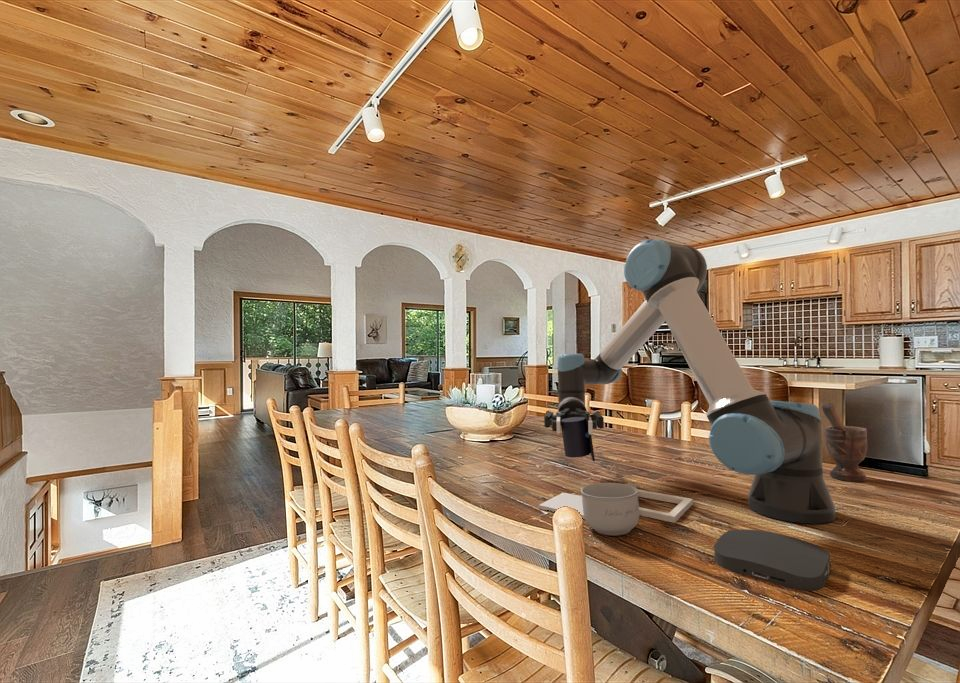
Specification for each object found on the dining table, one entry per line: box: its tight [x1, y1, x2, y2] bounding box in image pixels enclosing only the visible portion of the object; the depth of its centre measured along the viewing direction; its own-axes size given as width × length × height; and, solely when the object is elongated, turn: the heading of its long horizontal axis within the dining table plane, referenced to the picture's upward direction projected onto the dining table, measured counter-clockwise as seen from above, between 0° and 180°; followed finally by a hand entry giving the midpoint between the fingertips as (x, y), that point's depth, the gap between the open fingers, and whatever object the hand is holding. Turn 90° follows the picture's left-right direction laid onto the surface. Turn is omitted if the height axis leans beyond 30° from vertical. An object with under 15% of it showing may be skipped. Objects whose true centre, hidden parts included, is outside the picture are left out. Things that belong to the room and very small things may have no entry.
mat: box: [538, 492, 585, 520], centre depth 100 cm, size 11×11×1 cm
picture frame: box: [637, 488, 694, 524], centre depth 99 cm, size 14×14×1 cm
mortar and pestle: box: [821, 402, 868, 483], centre depth 116 cm, size 12×9×20 cm
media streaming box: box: [713, 529, 832, 592], centre depth 72 cm, size 15×15×3 cm
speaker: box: [560, 409, 596, 462], centre depth 102 cm, size 8×6×10 cm
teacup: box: [580, 482, 640, 537], centre depth 88 cm, size 14×11×8 cm
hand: (574, 427), depth 97 cm, fingers closed on speaker, 6 cm apart
